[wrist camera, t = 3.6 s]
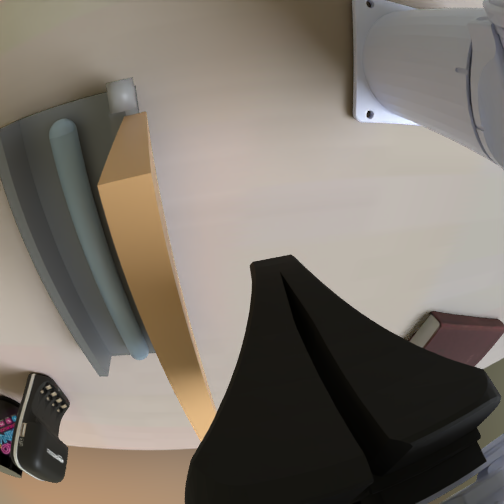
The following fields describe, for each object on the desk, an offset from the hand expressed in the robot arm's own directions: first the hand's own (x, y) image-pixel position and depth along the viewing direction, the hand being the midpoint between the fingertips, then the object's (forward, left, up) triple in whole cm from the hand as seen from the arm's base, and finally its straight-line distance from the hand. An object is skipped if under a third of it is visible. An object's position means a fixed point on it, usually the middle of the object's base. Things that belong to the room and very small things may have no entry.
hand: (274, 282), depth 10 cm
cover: (+4, +4, -2) cm, 6 cm away
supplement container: (+35, +27, -10) cm, 45 cm away
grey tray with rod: (+9, +4, -10) cm, 14 cm away
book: (-26, +25, -10) cm, 38 cm away
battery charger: (+23, +21, -10) cm, 33 cm away
